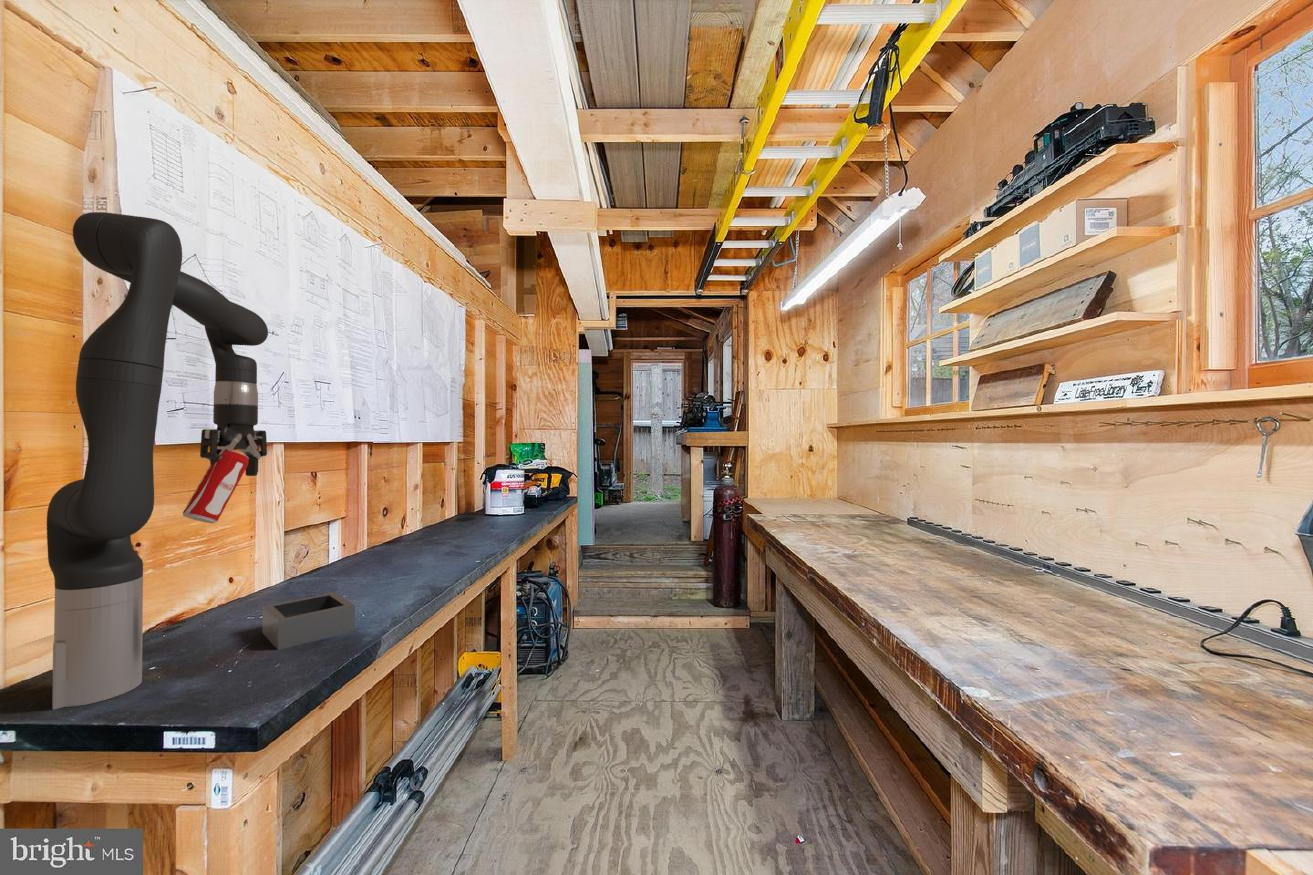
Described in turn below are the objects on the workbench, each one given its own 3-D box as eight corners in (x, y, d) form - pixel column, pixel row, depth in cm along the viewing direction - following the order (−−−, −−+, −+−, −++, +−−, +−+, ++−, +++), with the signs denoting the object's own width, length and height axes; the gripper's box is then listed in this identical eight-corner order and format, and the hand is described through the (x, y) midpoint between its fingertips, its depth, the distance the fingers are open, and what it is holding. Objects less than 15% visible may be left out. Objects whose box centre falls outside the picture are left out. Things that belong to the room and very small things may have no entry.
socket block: (277, 653, 94) (278, 621, 94) (262, 635, 103) (262, 606, 103) (354, 633, 104) (354, 605, 104) (334, 618, 113) (334, 592, 113)
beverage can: (179, 518, 102) (212, 451, 109) (219, 526, 106) (248, 460, 113) (181, 514, 98) (215, 445, 105) (222, 522, 103) (253, 455, 109)
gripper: (224, 401, 103) (223, 479, 103) (278, 405, 117) (277, 475, 117) (188, 400, 103) (187, 479, 103) (246, 405, 117) (246, 474, 117)
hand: (235, 477), depth 110 cm, fingers open, 8 cm apart
